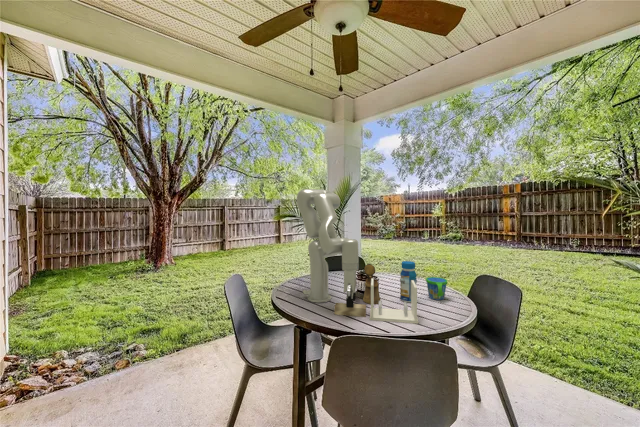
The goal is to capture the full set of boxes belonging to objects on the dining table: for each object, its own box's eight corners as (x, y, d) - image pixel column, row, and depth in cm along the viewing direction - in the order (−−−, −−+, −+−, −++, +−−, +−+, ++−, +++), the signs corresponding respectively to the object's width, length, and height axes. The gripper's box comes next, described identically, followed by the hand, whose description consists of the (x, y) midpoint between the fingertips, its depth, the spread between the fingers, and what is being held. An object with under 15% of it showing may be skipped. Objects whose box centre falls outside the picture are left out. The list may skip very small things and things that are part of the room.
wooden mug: (377, 295, 155) (377, 263, 154) (382, 304, 141) (382, 268, 141) (361, 295, 155) (361, 263, 155) (364, 304, 141) (364, 268, 141)
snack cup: (449, 304, 141) (450, 283, 141) (427, 302, 144) (427, 282, 144) (444, 294, 156) (444, 276, 156) (424, 293, 159) (424, 275, 159)
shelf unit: (369, 320, 122) (369, 285, 121) (370, 310, 133) (370, 278, 133) (418, 323, 118) (418, 287, 117) (414, 313, 129) (414, 280, 129)
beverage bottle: (417, 303, 142) (418, 264, 142) (400, 302, 144) (400, 263, 143) (415, 298, 150) (415, 260, 150) (399, 297, 152) (399, 260, 152)
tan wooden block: (334, 315, 128) (334, 306, 128) (336, 311, 133) (336, 302, 133) (365, 317, 125) (365, 308, 125) (366, 313, 130) (366, 304, 130)
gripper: (344, 262, 138) (345, 297, 138) (339, 270, 121) (340, 309, 121) (359, 263, 136) (360, 298, 136) (357, 270, 120) (357, 310, 120)
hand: (351, 303), depth 129 cm, fingers open, 9 cm apart
